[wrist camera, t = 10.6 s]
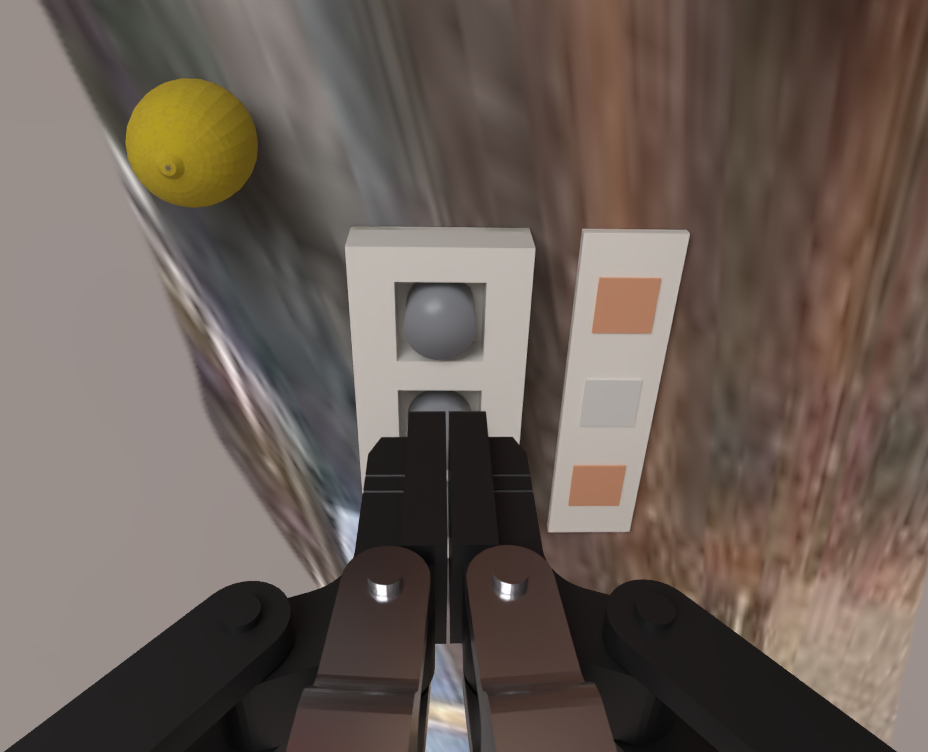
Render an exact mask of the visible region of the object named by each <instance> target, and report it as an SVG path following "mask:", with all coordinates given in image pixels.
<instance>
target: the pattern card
mask: <svg viewBox="0 0 928 752" xmlns="http://www.w3.org/2000/svg"><path fill="white" fill-rule="evenodd" d="M689 236H690V233H689V232H688V231H687V230H650V229H582V234H581V242H580V251H579V260H578V268H577V277H576V285H575V294H574V302H573V311H572V319H571V328H570V336H569V345H568V353H567V362H566V370H565V379H564V387H563V396H562V404H561V413H560V421H559V430H558V438H557V447H556V455H555V464H554V473H553V481H552V490H551V498H550V507H549V515H548V524H547V528H548V532H629V531H630V526H631V522H632V517H633V512H634V507H635V502H636V497H637V492H638V487H639V482H640V477H641V472H642V467H643V463H644V458H645V453H646V448H647V443H648V438H649V433H650V428H651V423H652V418H653V413H654V408H655V404H656V399H657V394H658V389H659V384H660V379H661V374H662V369H663V364H664V359H665V354H666V349H667V345H668V340H669V335H670V330H671V325H672V320H673V315H674V310H675V305H676V300H677V295H678V290H679V286H680V281H681V276H682V271H683V266H684V261H685V256H686V251H687V246H688V241H689Z"/></svg>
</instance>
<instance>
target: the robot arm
mask: <svg viewBox="0 0 928 752" xmlns="http://www.w3.org/2000/svg"><path fill="white" fill-rule="evenodd" d="M365 474H366V476H365V481H364V488H363V496H362V503H361V510H360V518H359V525H358V533H357V540H356V547H355V553H354V557H353V559H352V560H351V561H350V562H349V563H348V564H347V566H346V567H345V569H344V571H343V573H342V575H341V576H340V577H339V578H337V579H336V580H335V581H333V582H332V583H330V584H329V585H327V586H324V587H322V588H320V589H317V590H314V591H311V592H308V593H304V594H301V595H297V596H293V597H290V598H287V597H286V595H285V594H284V593H283V592H282V591H281V590H280V589H279V588H277V587H276V586H274V585H272V584H269V583H266V582H260V581H246V582H240V583H235V584H232V585H229V586H227V587H225V588H223V589H221V590H219V591H217V592H216V593H214V594H213V595H211V596H210V597H209V598H207V599H206V600H205V601H203V602H202V603H201V604H199V605H198V606H197V607H195V608H194V609H193V610H191V611H190V612H189V613H187V614H186V615H185V616H183V617H182V618H181V619H179V620H178V621H177V622H175V623H174V624H173V625H172V626H170V627H169V628H167V629H166V630H165V631H164V632H162V633H161V634H160V635H158V636H157V637H156V638H154V639H153V640H152V641H150V642H149V643H148V644H146V645H145V646H144V647H142V648H141V649H140V650H138V651H137V652H136V653H134V654H133V655H132V656H130V657H129V658H128V659H126V660H125V661H124V662H122V663H121V664H120V665H118V666H117V667H116V668H114V669H113V670H112V671H111V672H109V673H108V674H106V675H105V676H104V677H103V678H101V679H100V680H99V681H97V682H96V683H95V684H93V685H92V686H91V687H89V688H88V689H87V690H85V691H84V692H83V693H81V694H80V695H79V696H77V697H76V698H75V699H73V700H72V701H71V702H69V703H68V704H67V705H65V706H64V707H63V708H61V709H60V710H59V711H58V712H56V713H55V714H53V715H52V716H51V717H49V718H48V719H47V720H46V721H44V722H43V723H42V724H40V725H39V726H38V727H36V728H35V729H34V730H32V731H31V732H30V733H28V734H27V735H26V736H24V737H23V738H22V739H20V740H19V741H18V742H16V743H15V744H14V745H12V746H11V747H10V748H8V749H7V750H6V751H4V752H425V746H426V735H427V724H428V714H429V703H430V692H431V680H432V678H433V675H434V670H435V644H446V624H447V557H448V540H449V602H450V643H462V646H463V697H464V705H465V714H466V723H467V732H468V740H469V749H470V752H896V751H895V750H894V749H892V748H891V747H890V746H888V745H887V744H886V743H884V742H883V741H882V740H880V739H879V738H878V737H876V736H875V735H873V734H872V733H871V732H869V731H868V730H867V729H865V728H864V727H863V726H861V725H860V724H859V723H857V722H856V721H855V720H853V719H852V718H850V717H849V716H848V715H846V714H845V713H844V712H842V711H841V710H840V709H838V708H837V707H836V706H834V705H833V704H832V703H830V702H829V701H828V700H826V699H825V698H823V697H822V696H821V695H819V694H818V693H817V692H815V691H814V690H813V689H811V688H810V687H809V686H807V685H806V684H805V683H803V682H802V681H800V680H799V679H798V678H796V677H795V676H794V675H792V674H791V673H790V672H788V671H787V670H786V669H784V668H783V667H782V666H780V665H779V664H777V663H776V662H775V661H773V660H772V659H771V658H769V657H768V656H767V655H765V654H764V653H763V652H761V651H760V650H759V649H757V648H756V647H754V646H753V645H752V644H750V643H749V642H748V641H746V640H745V639H744V638H742V637H741V636H740V635H738V634H737V633H736V632H734V631H733V630H732V629H730V628H729V627H727V626H726V625H725V624H723V623H722V622H721V621H719V620H718V619H717V618H715V617H714V616H713V615H711V614H710V613H709V612H707V611H706V610H704V609H703V608H702V607H700V606H699V605H698V604H696V603H695V602H694V601H692V600H691V599H690V598H688V597H687V596H686V595H684V594H683V593H681V592H680V591H678V590H677V589H675V588H673V587H671V586H669V585H667V584H664V583H661V582H658V581H653V580H633V581H629V582H626V583H623V584H622V585H620V586H618V587H617V588H616V589H615V590H614V591H613V592H612V593H611V595H607V594H604V593H600V592H596V591H592V590H589V589H585V588H582V587H579V586H576V585H574V584H572V583H570V582H568V581H566V580H565V579H563V578H562V577H561V576H559V575H558V574H557V573H556V572H555V571H554V570H553V569H552V568H551V567H550V565H549V564H548V562H547V561H546V559H545V556H544V553H543V549H542V543H541V537H540V531H539V525H538V519H537V513H536V507H535V501H534V495H533V493H532V484H531V478H530V472H529V466H528V460H527V454H526V452H525V451H524V450H523V449H522V448H521V446H520V445H519V444H518V443H517V441H516V440H515V439H514V438H513V437H488V427H487V416H486V411H449V431H448V533H447V464H446V411H409V415H408V431H407V437H381V438H380V439H379V441H378V442H377V443H376V445H375V446H374V447H373V448H372V450H371V451H370V452H369V454H368V458H367V466H366V473H365Z"/></svg>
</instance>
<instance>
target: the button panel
mask: <svg viewBox="0 0 928 752" xmlns="http://www.w3.org/2000/svg"><path fill="white" fill-rule="evenodd" d="M345 254H346V268H347V282H348V296H349V310H350V324H351V338H352V352H353V367H354V381H355V395H356V409H357V423H358V437H359V451H360V465H361V479H362V493H363V488H364V481H365V476H366V474H365V473H366V466H367V458H368V454H369V452H370V451H371V450H372V448H373V447H374V446H375V445H376V443H377V442H378V441H379V439H380V438H381V437H406V431H407V415H408V408H409V406H410V404H411V402H412V401H413V399H414V398H415V397H416V396H418V395H419V394H420V393H422V392H424V391H427V390H453V391H455V392H457V393H459V394H460V395H462V396H463V397H464V398H465V399H466V400H467V401H468V403H469V405H470V407H471V411H486V416H487V427H488V437H513V438H514V439H515V440H516V441H517V443H518V444H519V443H520V431H521V419H522V407H523V395H524V382H525V370H526V358H527V346H528V333H529V321H530V309H531V297H532V285H533V272H534V260H535V245H534V242H533V239H532V235H531V232H530V229H529V228H473V227H385V226H351V228H350V231H349V235H348V238H347V241H346V245H345ZM415 282H461V283H466V284H467V286H468V287H469V288H470V290H471V292H472V294H473V298H474V306H475V316H476V335H475V338H474V341H473V343H472V344H471V346H470V347H469V348H468V349H467V350H466V351H465V352H463V353H462V354H460V355H459V356H457V357H454V358H451V359H446V360H434V359H430V358H426V357H424V356H422V355H420V354H418V353H417V352H416V351H415V350H414V349H412V347H411V346H410V345H409V343H408V342H407V340H406V337H405V333H404V320H405V309H406V299H407V295H408V292H409V290H410V289H411V287H412V286H413V285H414V284H415ZM447 481H448V470H447ZM447 558H449V540H448V557H447Z"/></svg>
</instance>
